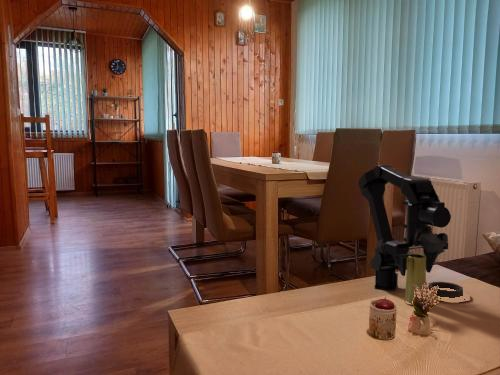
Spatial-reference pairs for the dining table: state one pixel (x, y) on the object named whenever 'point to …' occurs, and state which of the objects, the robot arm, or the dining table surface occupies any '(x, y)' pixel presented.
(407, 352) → the dining table surface
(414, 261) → the vase
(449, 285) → the stand
